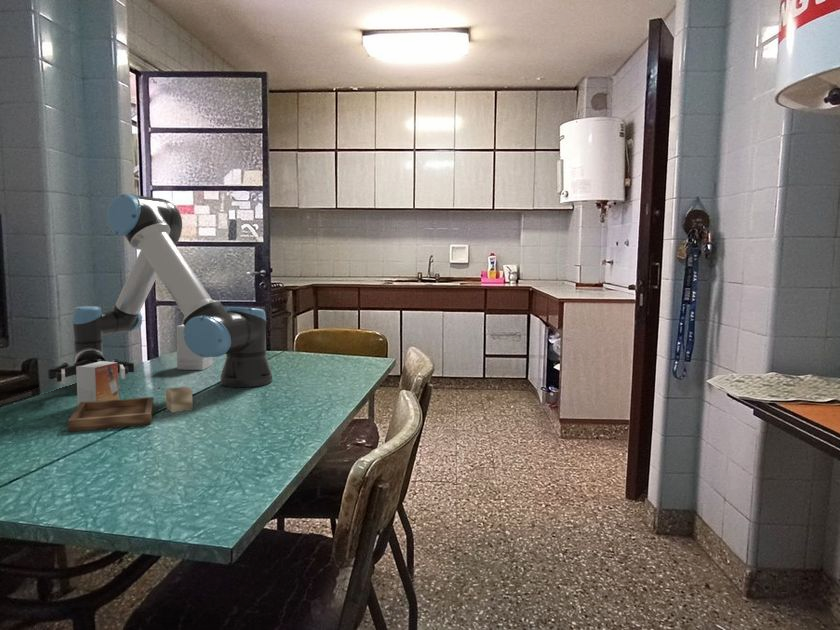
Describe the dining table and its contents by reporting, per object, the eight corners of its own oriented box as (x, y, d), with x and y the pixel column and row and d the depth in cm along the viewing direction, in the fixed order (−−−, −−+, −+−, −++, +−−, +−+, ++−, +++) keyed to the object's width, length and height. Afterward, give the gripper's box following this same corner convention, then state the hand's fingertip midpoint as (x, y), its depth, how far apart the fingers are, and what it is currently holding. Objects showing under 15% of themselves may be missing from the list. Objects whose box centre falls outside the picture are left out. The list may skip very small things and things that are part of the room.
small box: (96, 409, 137) (94, 367, 136) (76, 407, 138) (75, 366, 137) (119, 401, 145) (118, 361, 144) (101, 399, 146) (99, 360, 145)
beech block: (186, 405, 143) (186, 386, 142) (192, 409, 139) (192, 390, 138) (166, 408, 139) (165, 389, 139) (171, 412, 136) (170, 393, 135)
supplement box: (203, 370, 185) (202, 326, 183) (176, 369, 185) (175, 325, 183) (213, 365, 194) (212, 323, 192) (188, 364, 194) (187, 322, 192)
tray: (153, 406, 140) (153, 397, 140) (150, 424, 126) (150, 413, 125) (80, 412, 134) (80, 402, 134) (68, 431, 119) (68, 420, 119)
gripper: (138, 371, 170) (147, 385, 152) (39, 379, 156) (37, 395, 138) (137, 346, 169) (146, 358, 151) (38, 353, 155) (35, 366, 138)
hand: (94, 376), depth 145 cm, fingers open, 13 cm apart
